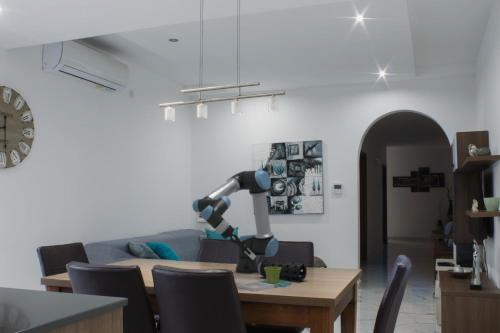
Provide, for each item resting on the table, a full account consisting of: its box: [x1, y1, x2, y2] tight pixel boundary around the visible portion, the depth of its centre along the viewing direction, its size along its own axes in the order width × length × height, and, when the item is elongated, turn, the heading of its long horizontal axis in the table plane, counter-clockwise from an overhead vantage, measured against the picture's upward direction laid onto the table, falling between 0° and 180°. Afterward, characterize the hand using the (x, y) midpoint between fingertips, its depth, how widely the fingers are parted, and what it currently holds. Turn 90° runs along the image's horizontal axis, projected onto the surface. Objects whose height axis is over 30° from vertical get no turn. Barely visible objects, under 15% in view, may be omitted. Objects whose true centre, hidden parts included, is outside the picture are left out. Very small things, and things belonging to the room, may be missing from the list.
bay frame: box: [236, 279, 292, 292], centre depth 269 cm, size 18×27×2 cm
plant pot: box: [264, 267, 281, 284], centre depth 274 cm, size 9×9×9 cm
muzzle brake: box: [257, 259, 308, 282], centre depth 291 cm, size 10×28×10 cm, turn 55°
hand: (252, 256), depth 273 cm, fingers open, 13 cm apart
